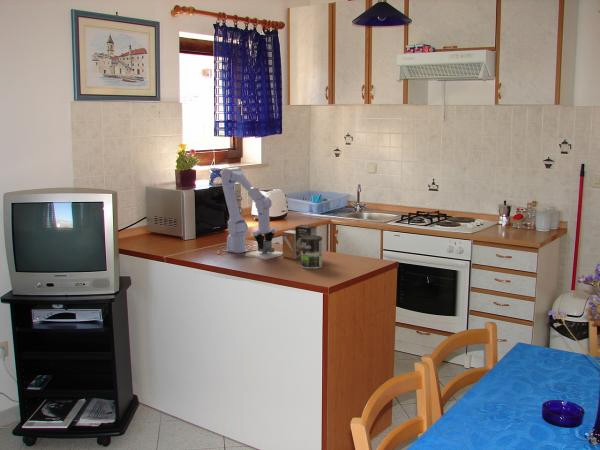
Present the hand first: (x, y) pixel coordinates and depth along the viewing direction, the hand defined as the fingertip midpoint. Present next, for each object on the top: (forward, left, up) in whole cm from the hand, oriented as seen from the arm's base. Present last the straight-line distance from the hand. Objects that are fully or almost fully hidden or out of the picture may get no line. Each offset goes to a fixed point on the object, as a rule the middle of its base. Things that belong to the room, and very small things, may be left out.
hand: (264, 247), depth 352 cm
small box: (+14, +5, -4) cm, 16 cm away
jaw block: (+2, 0, -2) cm, 2 cm away
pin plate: (0, 0, -4) cm, 4 cm away
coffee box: (+21, +7, -4) cm, 23 cm away
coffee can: (+35, -5, -4) cm, 36 cm away
